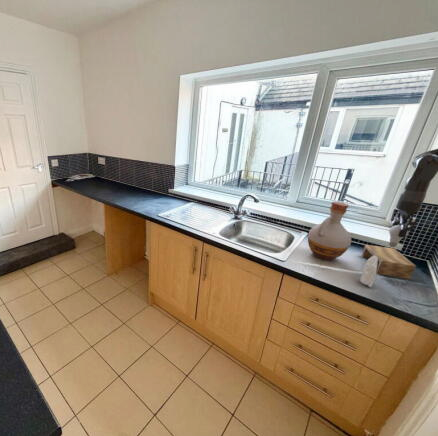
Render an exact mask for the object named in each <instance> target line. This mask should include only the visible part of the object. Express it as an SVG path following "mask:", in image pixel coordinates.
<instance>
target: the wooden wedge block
mask: <svg viewBox="0 0 438 436" xmlns="http://www.w3.org/2000/svg"><path fill="white" fill-rule="evenodd" d="M363 247H364V248H363V250H362V252H361V257H362V258H367V259H369V258H371V257H372V256H375V257H377V259H378V264H377V268H376V274H378V275H384V276H388V277H389V276H390V277H395V278H400V279H405V280H406V279H407V280H410V279H412V276H413V273H414V271H415V269H416V267H417V266H416V265H415V263H413V262H412V261H411V260H409V259H408V258H407V257H406V256H404V255H403V254H402V253H401V252H400V251H398V250H397V249H396V248H394V247H387V246H386V247H385V246H378V245H372V244H365V245H364V246H363Z"/></svg>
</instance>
